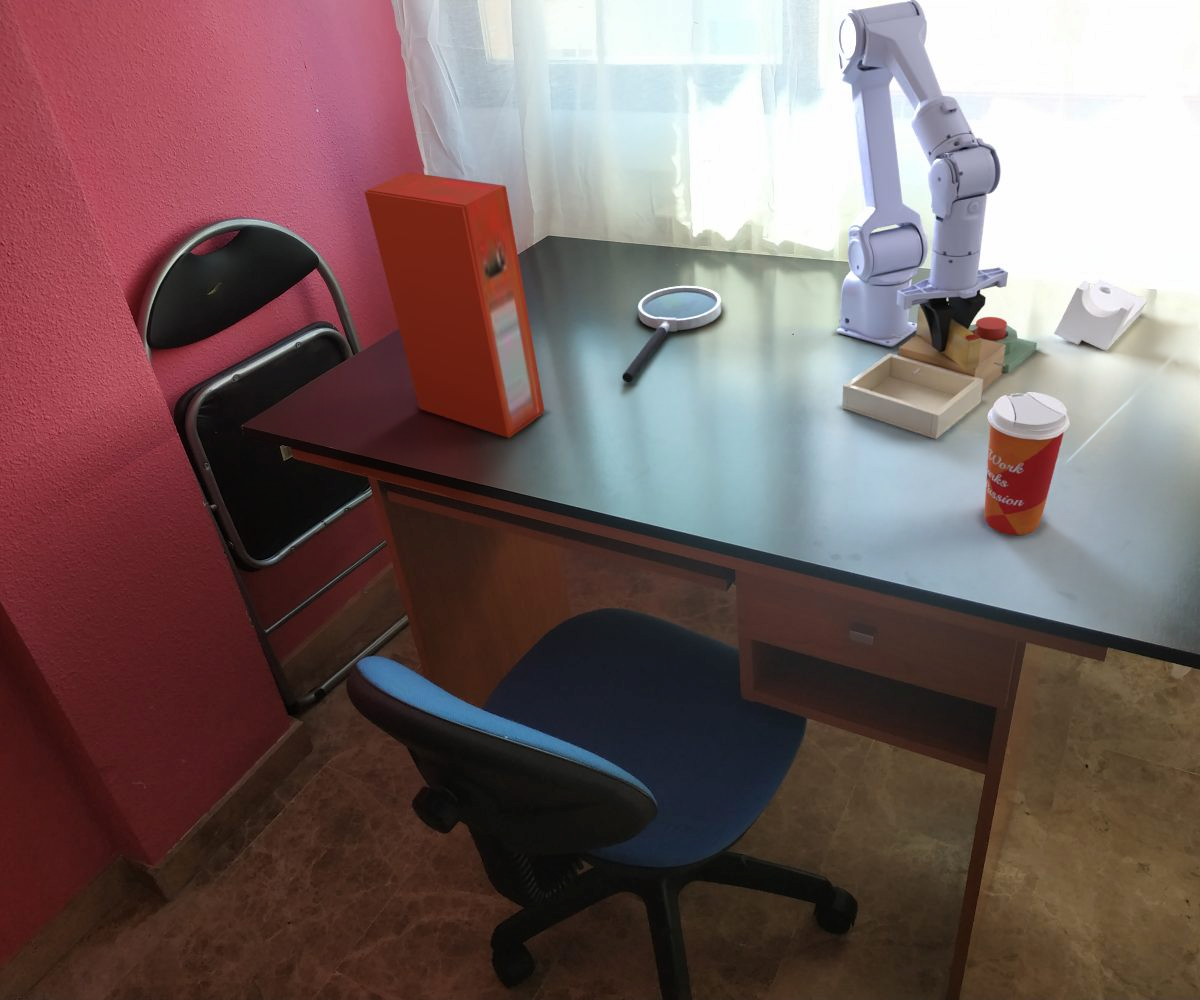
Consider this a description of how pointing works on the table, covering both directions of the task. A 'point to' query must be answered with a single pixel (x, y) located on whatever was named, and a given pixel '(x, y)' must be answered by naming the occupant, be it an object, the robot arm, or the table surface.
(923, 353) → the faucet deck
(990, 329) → the tap button
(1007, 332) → the tap control
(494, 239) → the file binder
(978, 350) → the golden tan long bar
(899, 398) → the wooden tray
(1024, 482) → the paper cup
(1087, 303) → the bracket
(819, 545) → the table surface
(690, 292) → the magnifying glass
